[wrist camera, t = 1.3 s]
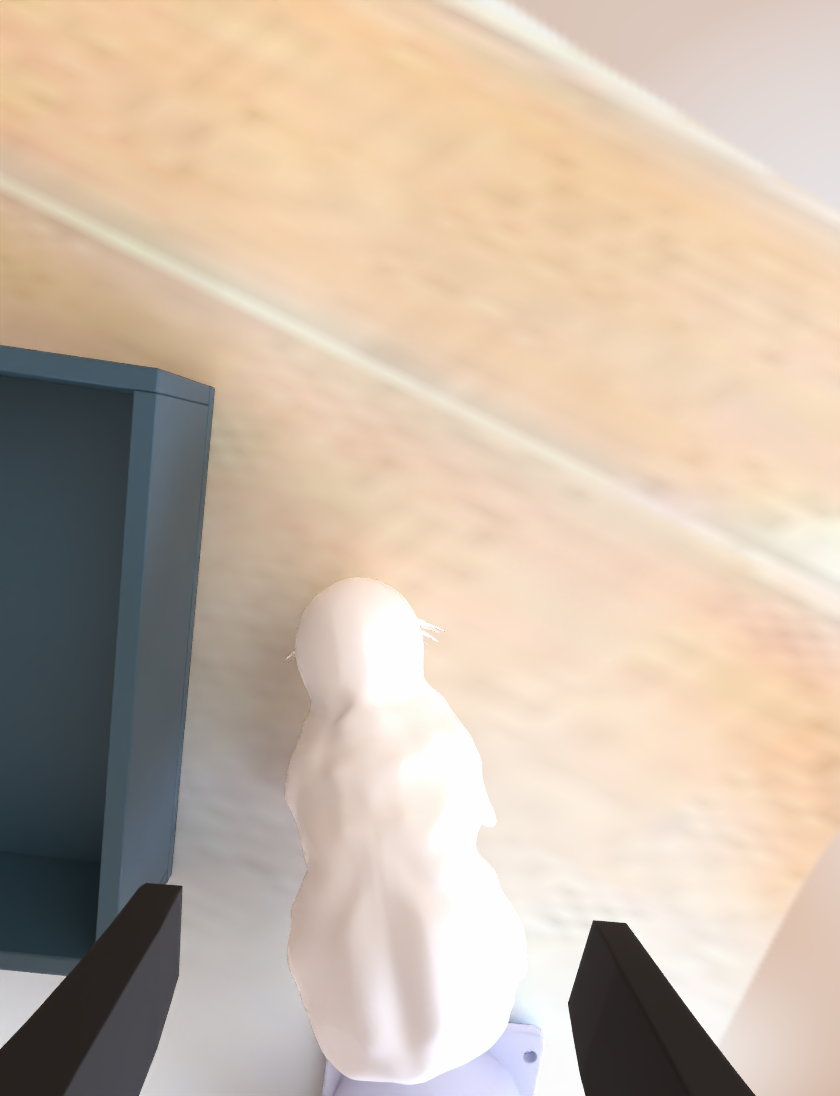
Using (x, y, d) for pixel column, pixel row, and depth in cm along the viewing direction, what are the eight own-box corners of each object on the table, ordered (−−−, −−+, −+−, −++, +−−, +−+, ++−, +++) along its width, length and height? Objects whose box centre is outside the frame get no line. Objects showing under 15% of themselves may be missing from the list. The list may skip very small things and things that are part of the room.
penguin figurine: (283, 1164, 14) (169, 635, 13) (334, 911, 22) (267, 585, 21) (565, 1112, 13) (467, 579, 13) (507, 879, 22) (446, 552, 21)
